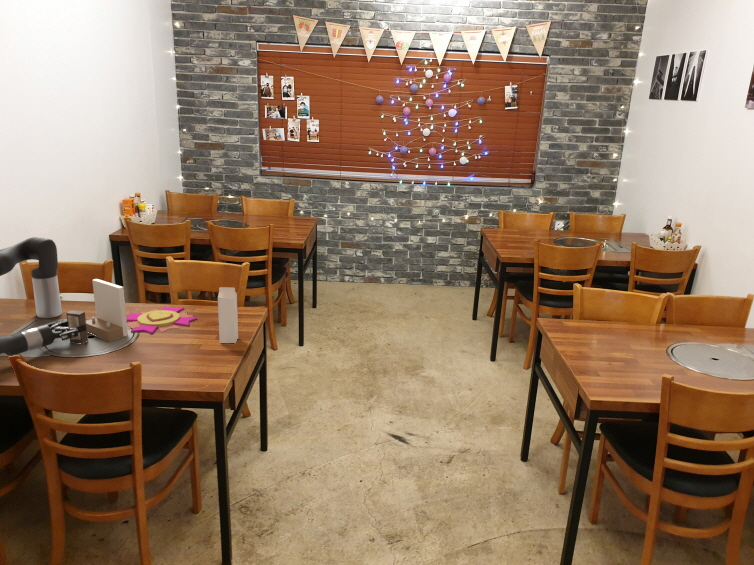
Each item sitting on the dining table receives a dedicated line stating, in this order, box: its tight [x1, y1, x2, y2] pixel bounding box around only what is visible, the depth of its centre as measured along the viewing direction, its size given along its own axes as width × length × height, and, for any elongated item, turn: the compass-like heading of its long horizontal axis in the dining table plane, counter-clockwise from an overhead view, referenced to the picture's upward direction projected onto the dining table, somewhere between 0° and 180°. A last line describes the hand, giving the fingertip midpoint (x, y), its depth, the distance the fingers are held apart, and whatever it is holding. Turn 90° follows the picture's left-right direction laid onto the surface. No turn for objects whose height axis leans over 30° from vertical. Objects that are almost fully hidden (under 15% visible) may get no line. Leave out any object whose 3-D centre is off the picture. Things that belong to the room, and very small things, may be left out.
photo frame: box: [65, 310, 89, 345], centre depth 220 cm, size 6×3×12 cm, turn 78°
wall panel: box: [86, 278, 129, 342], centre depth 228 cm, size 17×8×20 cm, turn 58°
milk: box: [217, 286, 239, 344], centre depth 225 cm, size 6×6×22 cm
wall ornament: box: [126, 305, 198, 335], centre depth 246 cm, size 30×2×30 cm
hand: (79, 324), depth 220 cm, fingers open, 8 cm apart
